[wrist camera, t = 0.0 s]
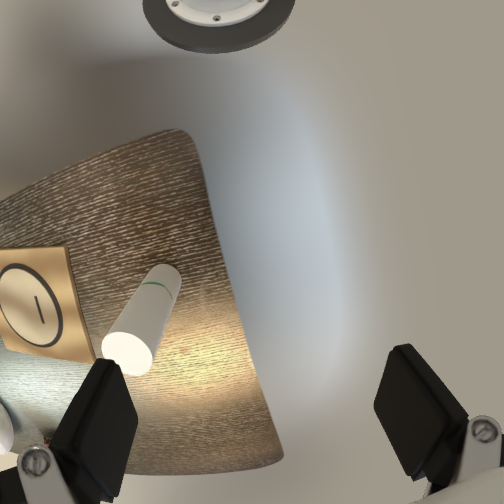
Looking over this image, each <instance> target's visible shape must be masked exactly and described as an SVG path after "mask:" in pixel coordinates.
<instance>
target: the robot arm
mask: <svg viewBox="0 0 504 504" xmlns="http://www.w3.org/2000/svg"><path fill="white" fill-rule="evenodd" d="M260 2H261V3H260ZM268 2H269V0H166V3H167V5H168V7H169V9H170V10H171V11H172V12H173V13H174V15H176V16H177V17H179V18H180V19H181V20H184V21H186V22H188V23H191V24H195V25H198V26H206V27H221V26H228V25H233V24H236V23H240V22H243V21H245V20H247V19H250V18H251V17H253V16H254V15H256V14H258V13H259V12H260V11H261V10H262V9H263V8H264V7H265V6H266V4H267V3H268ZM175 6H176V7H175ZM216 20H219V21H216ZM374 410H375V412H376V415H377V417H378V419H379V420H380V423H381V425H382V427H383V429H384V430H385V432H386V434H387V436H388V439H389V441H390V442H391V445H392V446H393V449H394V451H395V453H396V455H397V457H398V459H399V461H400V463H401V465H402V467H403V469H404V471H405V473H406V475H407V476H411V478H412V480H413V482H414V481H416V480H419V479H421V478H424V477H427V479H428V484H427V487H426V490H425V493H424V496H423V498H422V499H420V500H418V501H415V502H413V503H410V504H504V434H502V432H501V428H500V425H499V423H498V422H497V421H496V420H495V419H493V418H491V417H489V416H484V415H480V416H476V417H474V418H473V419H471V420H470V421H469V420H468V416H469V415H468V414H467V412H466V411H465V410H464V409H463V407H462V406H461V405H460V403H459V402H458V401H457V400H456V398H455V397H454V396H453V394H452V393H451V392H450V391H449V390H448V388H447V387H446V386H445V385H444V383H443V382H442V381H441V380H440V378H439V377H438V376H437V375H436V373H435V372H434V371H433V370H432V369H431V367H430V366H429V365H428V364H427V363H426V361H425V360H424V359H423V358H422V357H421V355H420V354H419V353H418V352H417V351H416V349H414V347H413V346H412V345H411V344H403V345H398V346H395V347H394V348H393V350H392V351H390V352H389V355H388V359H387V362H386V366H385V369H384V372H383V377H382V379H381V382H380V385H379V388H378V392H377V395H376V397H375V400H374ZM137 425H138V415H137V413H136V410H135V408H134V405H133V402H132V400H131V397H130V394H129V391H128V389H127V386H126V383H125V380H124V377H123V374H122V371H121V368H120V365H119V364H116V363H115V361H114V360H112V359H102V358H98V359H96V361H95V362H94V364H93V366H92V368H91V369H90V371H89V373H88V374H87V376H86V378H85V380H84V381H83V383H82V385H81V387H80V389H79V390H78V392H77V393H76V394H75V396H74V398H73V399H72V401H71V403H70V405H69V407H68V409H67V411H66V412H65V414H64V416H63V418H62V420H61V422H60V424H59V426H58V428H57V430H56V432H55V434H54V436H53V438H52V440H51V442H50V444H49V446H48V448H47V447H45V446H43V445H37V444H36V445H30V446H28V447H26V448H24V449H23V450H22V451H21V452H20V454H19V456H18V459H17V466H16V467H13V468H10V469H7V470H4V471H1V472H0V504H100V501H105V502H109V503H113V499H114V497H118V495H119V492H120V488H121V484H122V480H123V476H124V472H125V469H126V465H127V461H128V457H129V454H130V450H131V446H132V443H133V439H134V436H135V432H136V429H137Z"/></svg>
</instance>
